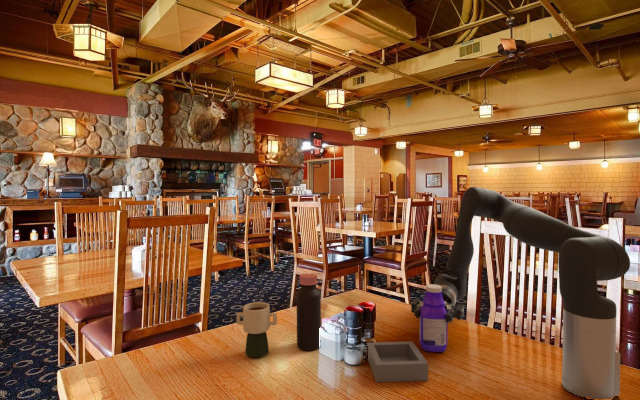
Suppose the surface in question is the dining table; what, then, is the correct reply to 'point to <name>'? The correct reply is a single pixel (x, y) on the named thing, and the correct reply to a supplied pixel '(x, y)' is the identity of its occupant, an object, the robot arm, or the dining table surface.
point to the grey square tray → (397, 362)
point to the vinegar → (308, 313)
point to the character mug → (256, 327)
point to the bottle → (433, 320)
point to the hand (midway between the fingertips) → (432, 316)
